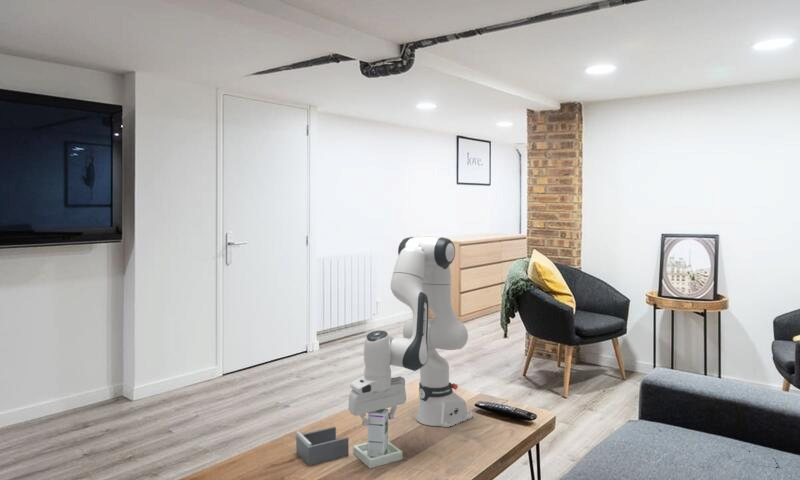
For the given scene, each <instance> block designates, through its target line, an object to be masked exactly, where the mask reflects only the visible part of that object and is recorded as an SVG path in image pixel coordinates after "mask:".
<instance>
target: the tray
mask: <svg viewBox="0 0 800 480" xmlns="http://www.w3.org/2000/svg"><path fill="white" fill-rule="evenodd" d="M367 446H368V441H367V442H364V443H360V444H356V445H353V446H352V447H353V448H352V454H353V455H354V456H356V457H357V459H358V460H360V461H361V462H362V463H364V464H365V465H366V466H367V467H368V468H369V469H373V468H377V467H380V466H384V465H387V464H391V463H395V462H398V461H402V460H403V451H402V450H401V449H400V448H398V447H397V446H396V445H394V444H393V443H391V442H390V441H389V440H388V451H387V453H386V455H382V456H379V457H370V456H368V455H367Z"/></svg>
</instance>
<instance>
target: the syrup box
mask: <svg viewBox="0 0 800 480" xmlns="http://www.w3.org/2000/svg"><path fill="white" fill-rule="evenodd" d="M388 413H389V408H385V409H381V410H377V411H373V412H369V413H367V420H369V425H367V442H368V446H367V455H368V456H370V457H379V456H382V455H386V453H387V451H388V441H389V419H388Z"/></svg>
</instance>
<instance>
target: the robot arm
mask: <svg viewBox="0 0 800 480" xmlns="http://www.w3.org/2000/svg"><path fill="white" fill-rule="evenodd" d="M398 245H399V246H398V248H397V249H398V250H397V254H398V257H397V259H396V262H395V265H394V268H393V272H392V276H391V281H390V290H391V293H392V294H393V296H394V297H395V299H397V300H398V301H400V302H401V303H402V304H404V305H406V306H408V307H409V308H410V309H411V311H412V316H413V317H412V318H409V319H408V320H407V321H406V322H405V323H404V325H403V328H402V336H403V337H400V336H395V335H391V334H389V333H388V332H387V331H385V330H374V331H371V332H368V333H367V335H366V336H365V338H364V347H363V362H364V365H365V366H364V367H365V368H364V370H363V371H364V372H363V375H362V376H360V377H357V378H356V379H355V380H353V381H351V382H350V389H351V390H350V392H349V395H348V411H349V413H350V414H352V415H353V416H354V417H357V416H359V417H360V419H361V421H362V426H364V427H368V425H369V420H368V418H366V416H367V414H368V413H369V412H373V411H377V410H381V409H389V408H390V410H389V412H388V420H394V418H395V413H396V411H397V408H398V406H401V405H405V404H406V402H407V391H406V380H405V378H404V377H402V376H396V377H392V370H391V369H392V368H391V366H394V367H399V368H404V369H406V370H410V371H413V372H416V371H419V372H420V373H419V374H420V375H419V378H420V379H419V383H418V384H419V388H418V392H419V402H418V403H419V404H418V409H417V413H416V416H415V419H416V421H417V422H419V423H420V424H422V425H426V426H431V427H442V428H450V426H451V427H452V426H455V424H456V425H459V424H460V422H461V423H463V422H465V421H468V420H470V419H473V418H472V417H474V416H473V412H472V411H470V410H469V409H468V406H467V404H466V401H465V400H464V398H463V397H462V396H460V395H458V394H457V393H456V392H454V391H453V390H455V391H456V390H458V388H459V385H458V384H456V383H451V382H450V366H449V365H450V364H449V363H448V361H447V359H446V358H444V357H442V356H441V355H440V354H439V353H438V352H437V349H438V350H445V351H455V350H462V349H463V348H464V347H465V346H466V345H467V343H468V338H469V333H468V329H467V328H466V326H465V324H463V323H462V321H460V320H459V318H457V315H456V314H455V312H454V309H453V307H452V306H453V305H452V299H451V298H452V297H451V296H452V293H451V291H452V290H451V289H452V288H451V287H452V279H451V277H452V274H451V266H450V265H451V264H452V263H453V261H454V260H455V256H456V246H455V244H454V243H453V241H452V240H451V239H449V238H447V237H443V236H442V237H437V236H417V237H413V236H410V237H405V238H403V239H402V241H401V242H400V243H399V244H398ZM429 311H430V312H431V313H432V314H433V316H434V319H433V318H429ZM467 419H468V420H467ZM462 421H463V422H462Z"/></svg>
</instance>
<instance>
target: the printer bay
mask: <svg viewBox="0 0 800 480" xmlns="http://www.w3.org/2000/svg"><path fill="white" fill-rule="evenodd" d="M295 435H296V436H295V437H296V438H295V439H296V441H295V442H296V445H295V446H296V450H295V451H296V454H297V455H298V456H299V457H300V458H301V460H303V462H304V463H305V464H306V465H307V466H308V467H310V466H314V465H319V464H323V463H326V462H330V461H332V460H337V459H340V458H344V457H348V456H349V437H348V436H345V437H341V438H338V439H337V428H336V426H334V425H333V426H331V427H327V428H322V429H317V430H313V431H309V432H305V433H301V432H300V431H299V430H298V431H296V433H295Z"/></svg>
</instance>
